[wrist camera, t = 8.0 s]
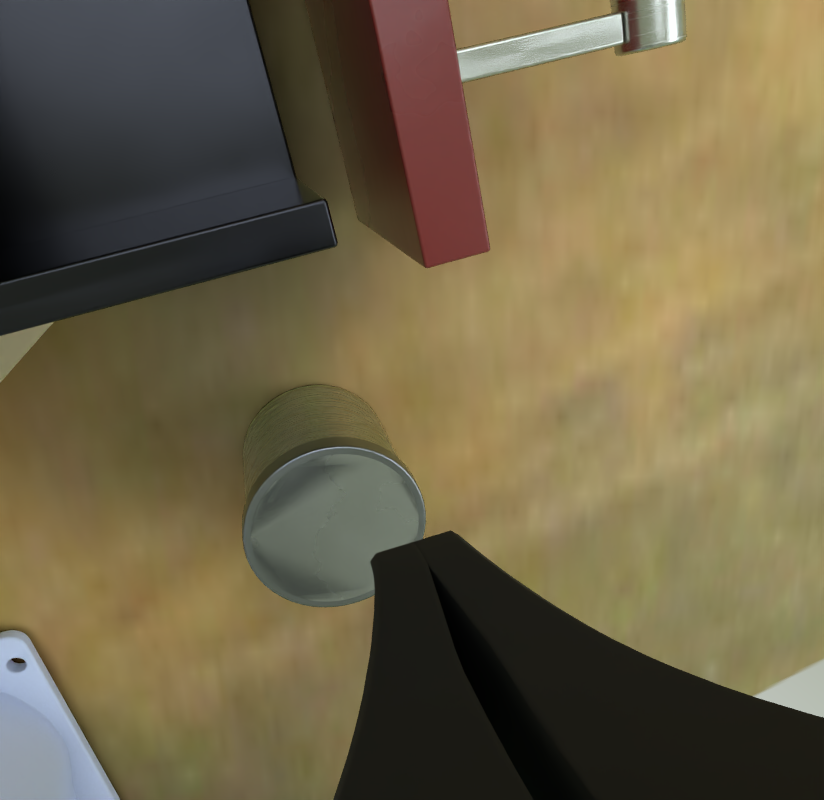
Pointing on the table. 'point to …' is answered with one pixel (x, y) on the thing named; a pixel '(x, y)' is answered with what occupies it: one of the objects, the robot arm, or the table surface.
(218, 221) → the drawer
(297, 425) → the tin
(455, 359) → the table surface
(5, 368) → the cabinet
